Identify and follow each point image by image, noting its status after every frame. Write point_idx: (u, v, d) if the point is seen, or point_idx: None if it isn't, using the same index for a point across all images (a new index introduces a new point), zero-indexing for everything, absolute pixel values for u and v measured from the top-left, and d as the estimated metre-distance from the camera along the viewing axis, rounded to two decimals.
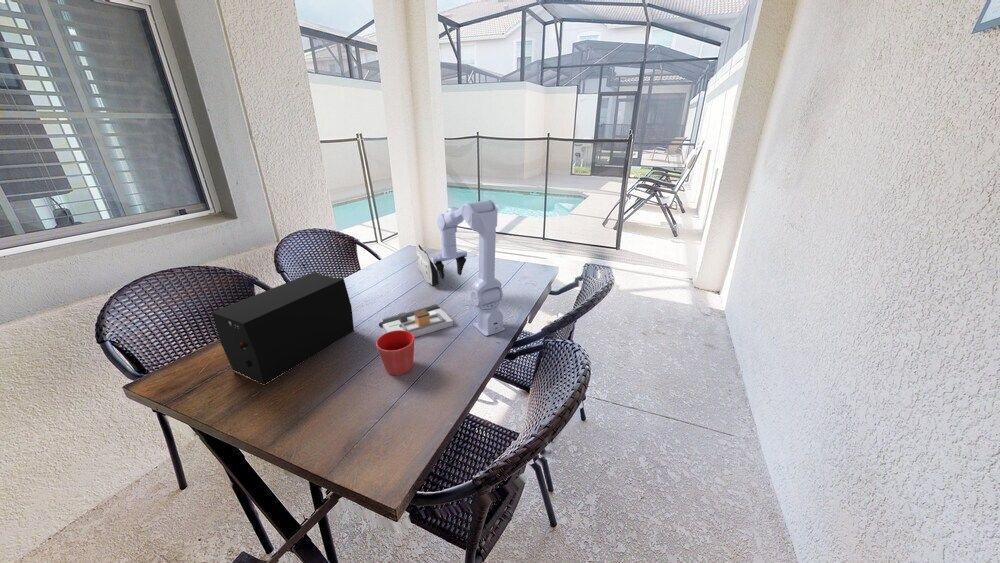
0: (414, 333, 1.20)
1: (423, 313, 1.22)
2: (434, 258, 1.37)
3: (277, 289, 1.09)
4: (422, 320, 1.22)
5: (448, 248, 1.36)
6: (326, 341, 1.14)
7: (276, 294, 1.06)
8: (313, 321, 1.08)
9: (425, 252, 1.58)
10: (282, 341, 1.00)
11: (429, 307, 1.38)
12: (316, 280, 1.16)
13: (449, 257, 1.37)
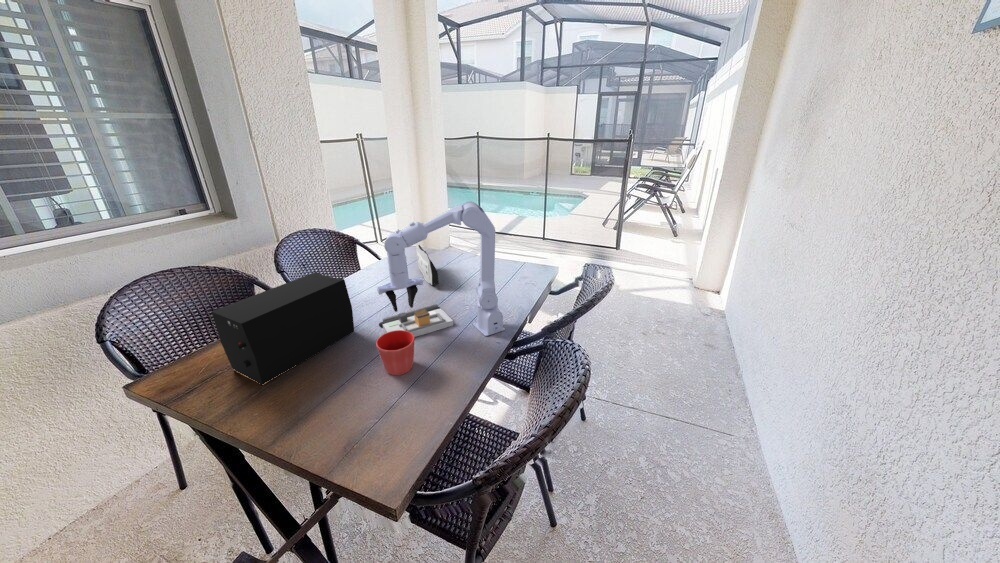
0: (414, 333, 1.20)
1: (423, 313, 1.22)
2: (380, 288, 1.12)
3: (278, 289, 1.09)
4: (422, 320, 1.22)
5: (397, 276, 1.11)
6: (326, 342, 1.14)
7: (276, 294, 1.06)
8: (312, 321, 1.08)
9: (425, 252, 1.58)
10: (281, 341, 1.00)
11: (429, 307, 1.38)
12: (317, 280, 1.16)
13: (398, 287, 1.12)
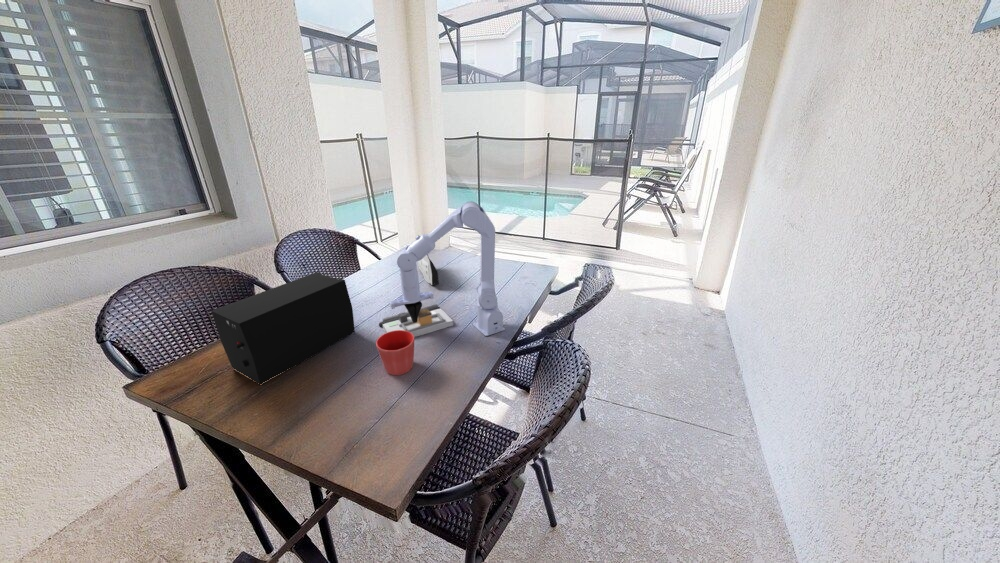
0: (414, 333, 1.20)
1: (425, 312, 1.23)
2: (393, 302, 1.16)
3: (278, 288, 1.10)
4: (424, 319, 1.22)
5: (409, 291, 1.15)
6: (325, 342, 1.14)
7: (276, 294, 1.06)
8: (311, 322, 1.07)
9: None
10: (279, 341, 1.00)
11: (429, 307, 1.38)
12: (317, 280, 1.16)
13: (410, 301, 1.16)
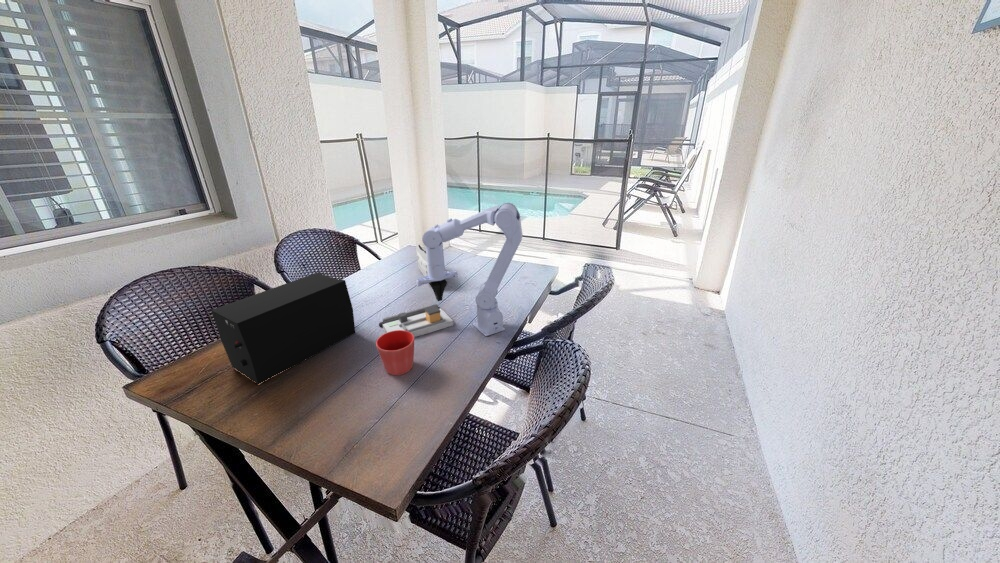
0: (414, 333, 1.20)
1: (434, 310, 1.24)
2: (419, 280, 1.18)
3: (279, 288, 1.10)
4: (433, 316, 1.24)
5: (435, 268, 1.17)
6: (325, 343, 1.14)
7: (276, 293, 1.06)
8: (311, 322, 1.07)
9: (425, 252, 1.58)
10: (278, 342, 0.99)
11: (429, 307, 1.38)
12: (318, 280, 1.15)
13: (436, 278, 1.18)
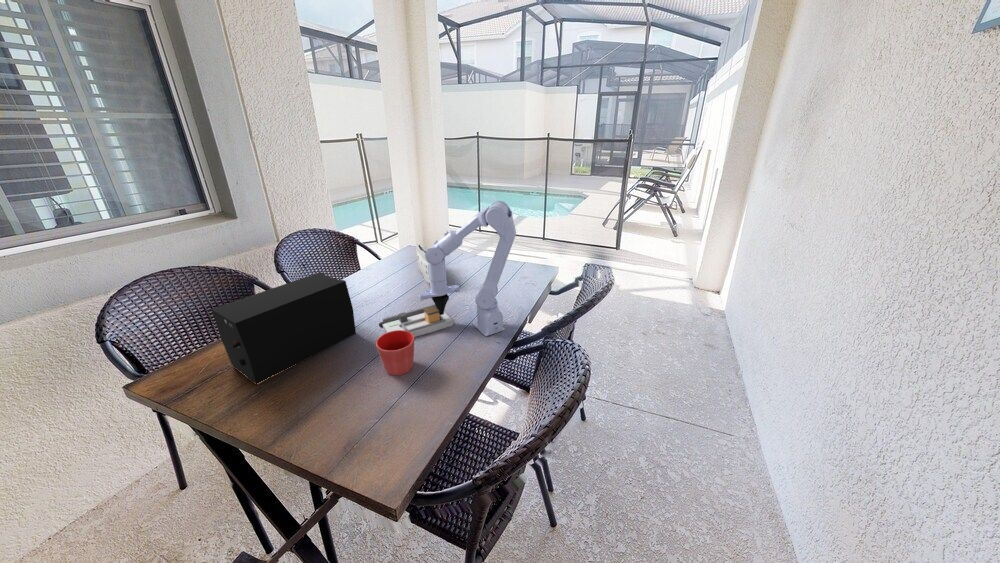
0: (414, 333, 1.20)
1: (433, 310, 1.24)
2: (421, 295, 1.21)
3: (279, 288, 1.10)
4: (432, 317, 1.24)
5: (437, 284, 1.20)
6: (324, 343, 1.13)
7: (276, 293, 1.06)
8: (310, 323, 1.07)
9: (425, 252, 1.58)
10: (276, 342, 0.99)
11: (429, 307, 1.38)
12: (319, 280, 1.15)
13: (438, 294, 1.21)
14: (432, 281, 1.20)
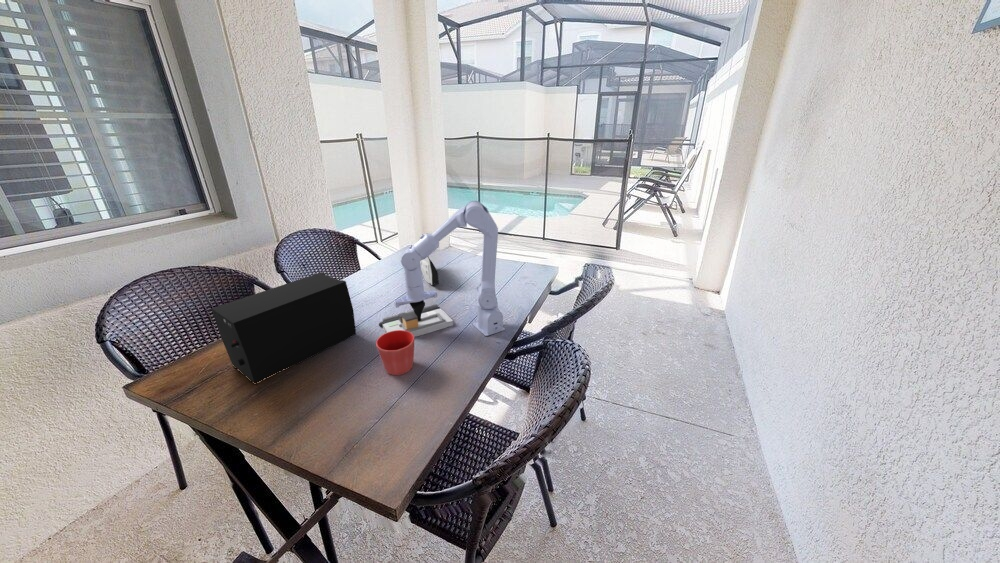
0: (414, 333, 1.20)
1: (411, 316, 1.20)
2: (397, 301, 1.17)
3: (280, 288, 1.10)
4: (410, 323, 1.20)
5: (413, 290, 1.16)
6: (324, 344, 1.13)
7: (276, 293, 1.06)
8: (309, 323, 1.07)
9: None
10: (275, 342, 0.99)
11: (429, 307, 1.38)
12: (319, 281, 1.15)
13: (415, 300, 1.17)
14: (408, 287, 1.16)
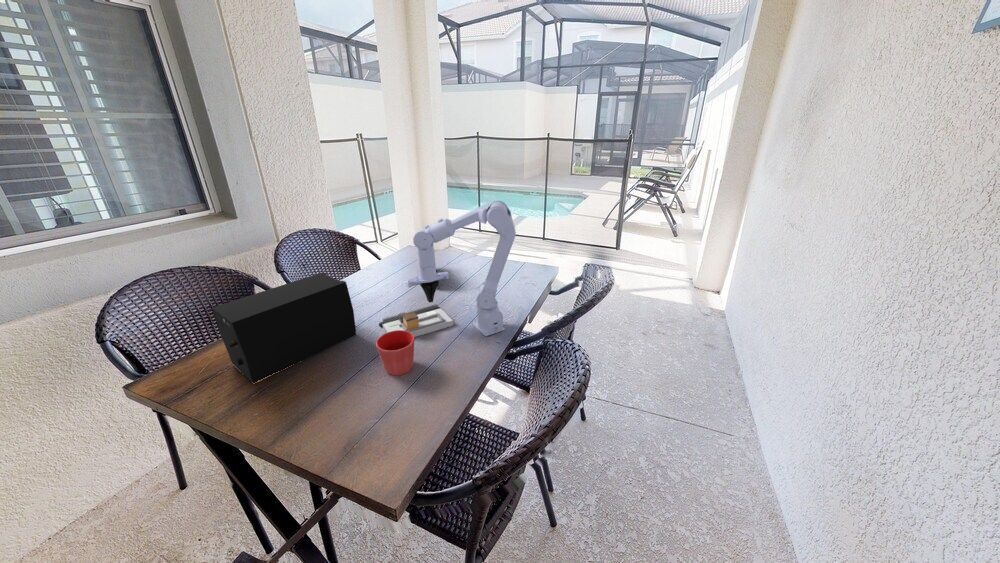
0: (414, 333, 1.20)
1: (412, 316, 1.20)
2: (409, 281, 1.17)
3: (280, 288, 1.10)
4: (411, 323, 1.20)
5: (426, 270, 1.16)
6: (324, 344, 1.13)
7: (276, 293, 1.07)
8: (309, 323, 1.06)
9: None
10: (274, 342, 0.99)
11: (429, 307, 1.38)
12: (320, 281, 1.15)
13: (427, 280, 1.17)
14: (420, 267, 1.16)
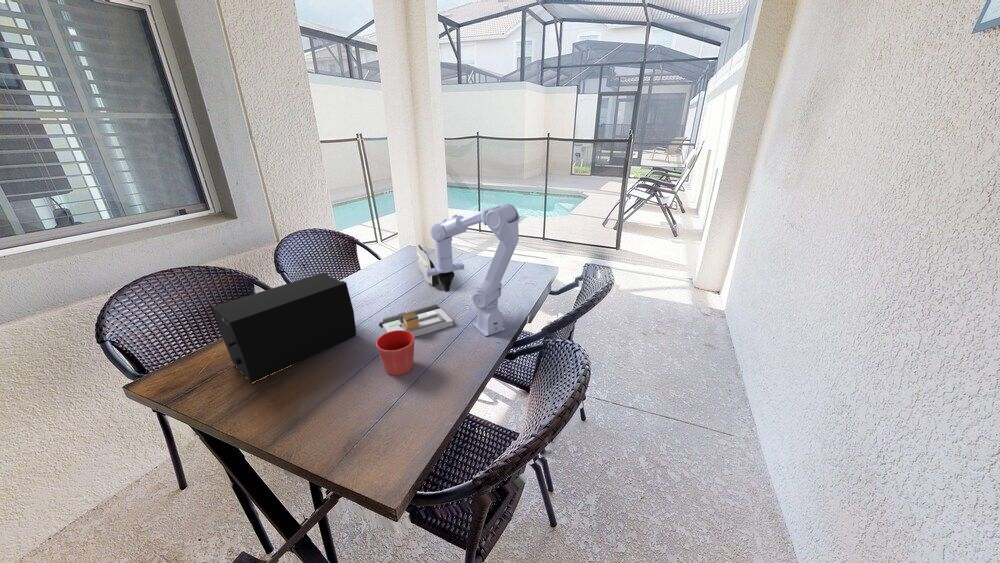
0: (414, 333, 1.20)
1: (412, 316, 1.20)
2: (428, 271, 1.24)
3: (281, 288, 1.10)
4: (411, 323, 1.20)
5: (443, 260, 1.24)
6: (323, 344, 1.13)
7: (277, 293, 1.07)
8: (308, 324, 1.06)
9: (425, 252, 1.58)
10: (272, 342, 0.99)
11: (429, 307, 1.38)
12: (320, 281, 1.15)
13: (444, 270, 1.25)
14: (438, 258, 1.24)
